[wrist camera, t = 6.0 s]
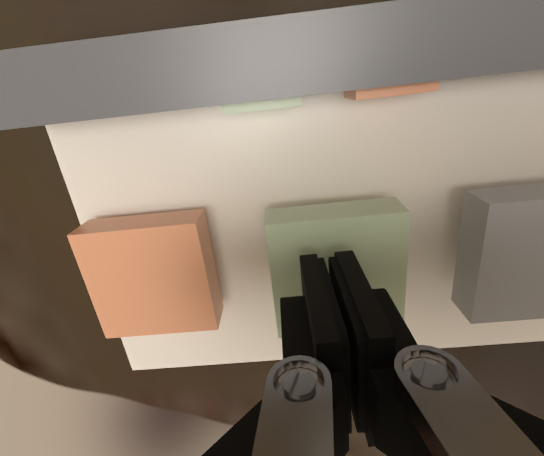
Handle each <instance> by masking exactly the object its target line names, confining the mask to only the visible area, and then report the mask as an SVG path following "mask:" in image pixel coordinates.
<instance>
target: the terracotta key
mask: <svg viewBox="0 0 544 456" xmlns="http://www.w3.org/2000/svg"><path fill="white" fill-rule="evenodd" d="M67 237H68V240H69V242H70V245H71V248H72V250H73V253H74V256H75V258H76V261H77V263H78V266H79V269H80V271H81V274H82V277H83V279H84V282H85V284H86V287H87V290H88V292H89V295H90V298H91V300H92V303H93V305H94V308H95V311H96V313H97V316H98V319H99V321H100V324H101V327H102V329H103V332H104V334H105V337H106V338H118V337H131V336H144V335H157V334H170V333H183V332H196V331H209V330H218V328H219V324H220V320H221V316H222V311H223V307H224V306H223V301H222V296H221V291H220V286H219V281H218V276H217V271H216V265H215V260H214V255H213V250H212V245H211V240H210V235H209V230H208V225H207V220H206V215H205V209H204V208H203V209H193V210H183V211H172V212H162V213H152V214H141V215H131V216H120V217H110V218H100V219H89V220H87V221H86V222H85V223H83V224H82V225H81V226H79V227H78V228H76V229H75V230H74V231H72V232H71V233H70V234H68V235H67Z"/></svg>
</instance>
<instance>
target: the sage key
mask: <svg viewBox="0 0 544 456" xmlns="http://www.w3.org/2000/svg"><path fill="white" fill-rule="evenodd" d="M410 214H411V212H410V211H409V210H408V209H407V208H406V207H405V206H404V205H403V204H402V203H401V202H400V201H399V200H398V199H397V198H396V197H388V198H378V199H367V200H357V201H346V202H336V203H325V204H315V205H304V206H294V207H283V208H273V209H266V212H265V223H264V227H265V235H266V243H267V251H268V259H269V267H270V275H271V283H272V291H273V299H274V307H275V315H276V323H277V331H278V338H282V332H281V312H280V298H282V297H292V296H303V294H302V282H301V270H300V257H299V256H300V255H307V254H317V257H318V258H323V257H324V260H325V263H326V266H327V269H328V273H329V264H328V258H329V257H333V256H334V253H335V252H338V251H348V250H353V252H354V254H355V256H356V258H357V260H358V262H359V264H360V266H361V268H362V270H363V272H364V274H365V276H366V278H367V280H368V282H369V284H370V286H371V288H372V289H378V288H385V289H386V290H387V292H388V293H389V295H390V297H391V299H392V300H393V302H394V304H395V306H396V307H397V309H398V311H399V313H400V314H401V316H402V318H403V320H404V314H405V297H406V281H407V264H408V248H409V231H410Z"/></svg>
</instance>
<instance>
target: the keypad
mask: <svg viewBox="0 0 544 456" xmlns="http://www.w3.org/2000/svg"><path fill="white" fill-rule="evenodd" d="M42 125H45V127H46V129H47V132H48V135H49V138H50V141H51V143H52V146H53V149H54V152H55V155H56V157H57V160H58V163H59V166H60V169H61V171H62V174H63V177H64V180H65V183H66V185H67V188H68V191H69V194H70V197H71V199H72V202H73V205H74V208H75V211H76V213H77V216H78V219H79V222H80V225H82V224H83V223H85V222H86V221H87V220H89V219H100V218H110V217H120V216H131V215H141V214H152V213H162V212H172V211H183V210H193V209H203V208H204V209H205V215H206V220H207V225H208V230H209V235H210V240H211V245H212V250H213V255H214V260H215V265H216V271H217V276H218V281H219V286H220V291H221V296H222V301H223V306H224V307H223V311H222V316H221V320H220V324H219V328H218V330H209V331H196V332H183V333H170V334H157V335H144V336H131V337H121V339H122V342H123V345H124V348H125V350H126V353H127V356H128V359H129V362H130V364H131V367H132V370H144V369H158V368H172V367H186V366H200V365H214V364H228V363H242V362H256V361H270V360H282V359H283V352H282V338H278V331H277V323H276V315H275V307H274V299H273V291H272V283H271V275H270V267H269V259H268V251H267V243H266V235H265V227H264V223H265V212H266V209H273V208H283V207H294V206H304V205H315V204H325V203H336V202H346V201H357V200H367V199H378V198H388V197H396V198H397V199H398V200H399V201H400V202H401V203H402V204H403V205H404V206H405V207H406V208H407V209H408V210H409V211H410V212H411V214H410V231H409V248H408V264H407V281H406V297H405V314H404V321H405V323H406V325H407V327H408V328H409V330H410V332H411V334H412V336H413V337H414V339H415V341H416V343H417V344H418V345H427V346H433V347H436V348H451V347H465V346H479V345H493V344H507V343H521V342H535V341H544V319H531V320H518V321H504V322H491V323H478V324H470V322H469V321H468V320H467V319H466V317H465V316H464V315H463V314H462V312H461V311H460V310H459V309H458V307H457V306H456V305H455V304H454V303H453V301H452V300H451V296H452V288H453V280H454V272H455V264H456V256H457V248H458V240H459V232H460V224H461V216H462V208H463V200H464V192H465V190H472V189H482V188H493V187H503V186H514V185H524V184H535V183H544V0H395V1H387V2H379V3H371V4H363V5H355V6H347V7H339V8H332V9H324V10H316V11H308V12H300V13H292V14H284V15H276V16H268V17H260V18H252V19H244V20H236V21H228V22H220V23H212V24H204V25H196V26H188V27H180V28H172V29H164V30H157V31H149V32H141V33H133V34H125V35H117V36H109V37H101V38H93V39H85V40H77V41H69V42H61V43H53V44H45V45H37V46H29V47H21V48H13V49H5V50H0V130H7V129H15V128H24V127H33V126H42Z"/></svg>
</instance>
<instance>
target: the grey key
mask: <svg viewBox="0 0 544 456" xmlns="http://www.w3.org/2000/svg"><path fill="white" fill-rule="evenodd" d="M451 300H452V301H453V303H454V304H455V305H456V306H457V307H458V309H459V310H460V311H461V312H462V314H463V315H464V316H465V317H466V319H467V320H468V321H469V322H470V324H478V323H491V322H504V321H518V320H531V319H544V183H535V184H524V185H514V186H503V187H493V188H482V189H472V190H465V192H464V200H463V208H462V216H461V224H460V232H459V240H458V248H457V256H456V264H455V272H454V280H453V288H452V296H451Z"/></svg>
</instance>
